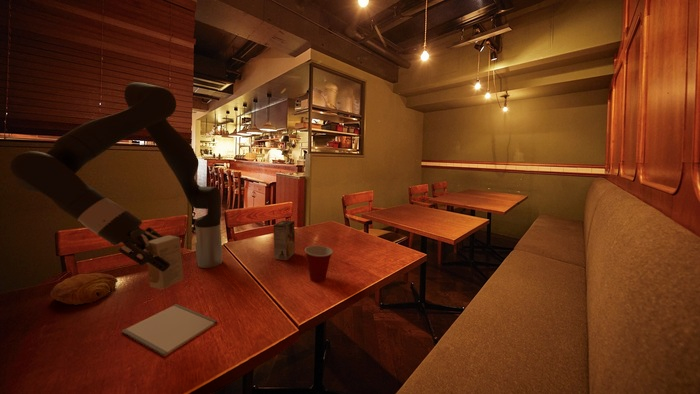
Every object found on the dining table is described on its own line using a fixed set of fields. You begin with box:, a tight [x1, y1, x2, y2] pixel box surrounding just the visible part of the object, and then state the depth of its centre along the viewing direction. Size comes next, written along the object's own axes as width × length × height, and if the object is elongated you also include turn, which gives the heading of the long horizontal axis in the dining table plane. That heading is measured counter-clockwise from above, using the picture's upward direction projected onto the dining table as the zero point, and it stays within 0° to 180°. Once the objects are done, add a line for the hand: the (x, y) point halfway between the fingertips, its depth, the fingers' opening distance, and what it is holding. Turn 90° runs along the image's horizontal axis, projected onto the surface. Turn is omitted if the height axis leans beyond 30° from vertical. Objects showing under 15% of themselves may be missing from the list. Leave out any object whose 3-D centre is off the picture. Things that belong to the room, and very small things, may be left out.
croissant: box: [50, 272, 119, 306], centre depth 85 cm, size 14×16×8 cm
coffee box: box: [273, 220, 296, 261], centre depth 121 cm, size 9×6×16 cm
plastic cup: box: [304, 245, 334, 283], centre depth 100 cm, size 11×11×12 cm
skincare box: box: [147, 234, 184, 291], centre depth 68 cm, size 6×4×12 cm
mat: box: [121, 303, 218, 357], centre depth 71 cm, size 18×14×1 cm
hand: (171, 262), depth 68 cm, fingers closed on skincare box, 7 cm apart
